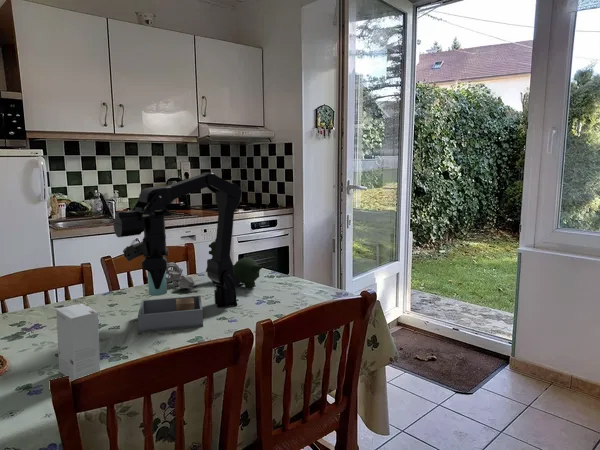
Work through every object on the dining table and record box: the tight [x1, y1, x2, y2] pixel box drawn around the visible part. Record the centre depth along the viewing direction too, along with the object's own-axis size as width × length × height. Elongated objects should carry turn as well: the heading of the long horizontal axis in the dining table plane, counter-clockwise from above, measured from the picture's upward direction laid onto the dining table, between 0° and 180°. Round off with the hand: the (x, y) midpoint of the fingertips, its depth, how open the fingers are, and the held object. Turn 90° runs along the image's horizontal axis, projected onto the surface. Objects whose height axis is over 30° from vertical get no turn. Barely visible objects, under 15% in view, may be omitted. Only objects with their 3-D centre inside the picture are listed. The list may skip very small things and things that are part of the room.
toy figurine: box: [208, 238, 263, 290], centre depth 161 cm, size 10×19×26 cm
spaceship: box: [166, 262, 196, 290], centre depth 166 cm, size 8×35×8 cm
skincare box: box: [55, 302, 101, 381], centre depth 94 cm, size 8×6×15 cm
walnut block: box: [176, 298, 194, 311], centre depth 127 cm, size 5×5×5 cm
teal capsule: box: [146, 270, 168, 297], centre depth 124 cm, size 5×5×7 cm
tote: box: [137, 295, 204, 334], centre depth 126 cm, size 17×13×5 cm
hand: (157, 286), depth 124 cm, fingers closed on teal capsule, 5 cm apart
